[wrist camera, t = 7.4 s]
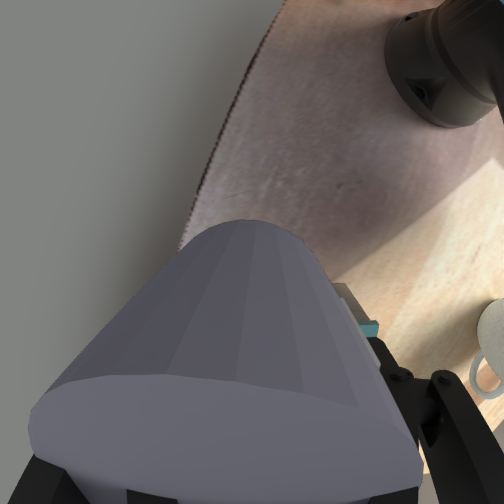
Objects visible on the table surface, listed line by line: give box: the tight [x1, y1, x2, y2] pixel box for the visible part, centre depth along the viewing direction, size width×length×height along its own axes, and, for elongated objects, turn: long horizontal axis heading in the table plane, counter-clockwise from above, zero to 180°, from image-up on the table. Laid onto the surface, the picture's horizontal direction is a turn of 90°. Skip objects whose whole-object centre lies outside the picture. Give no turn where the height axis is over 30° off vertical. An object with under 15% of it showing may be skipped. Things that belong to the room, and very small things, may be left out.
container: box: [28, 220, 424, 504], centre depth 13 cm, size 10×10×15 cm
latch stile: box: [332, 283, 379, 337], centre depth 29 cm, size 3×3×11 cm
